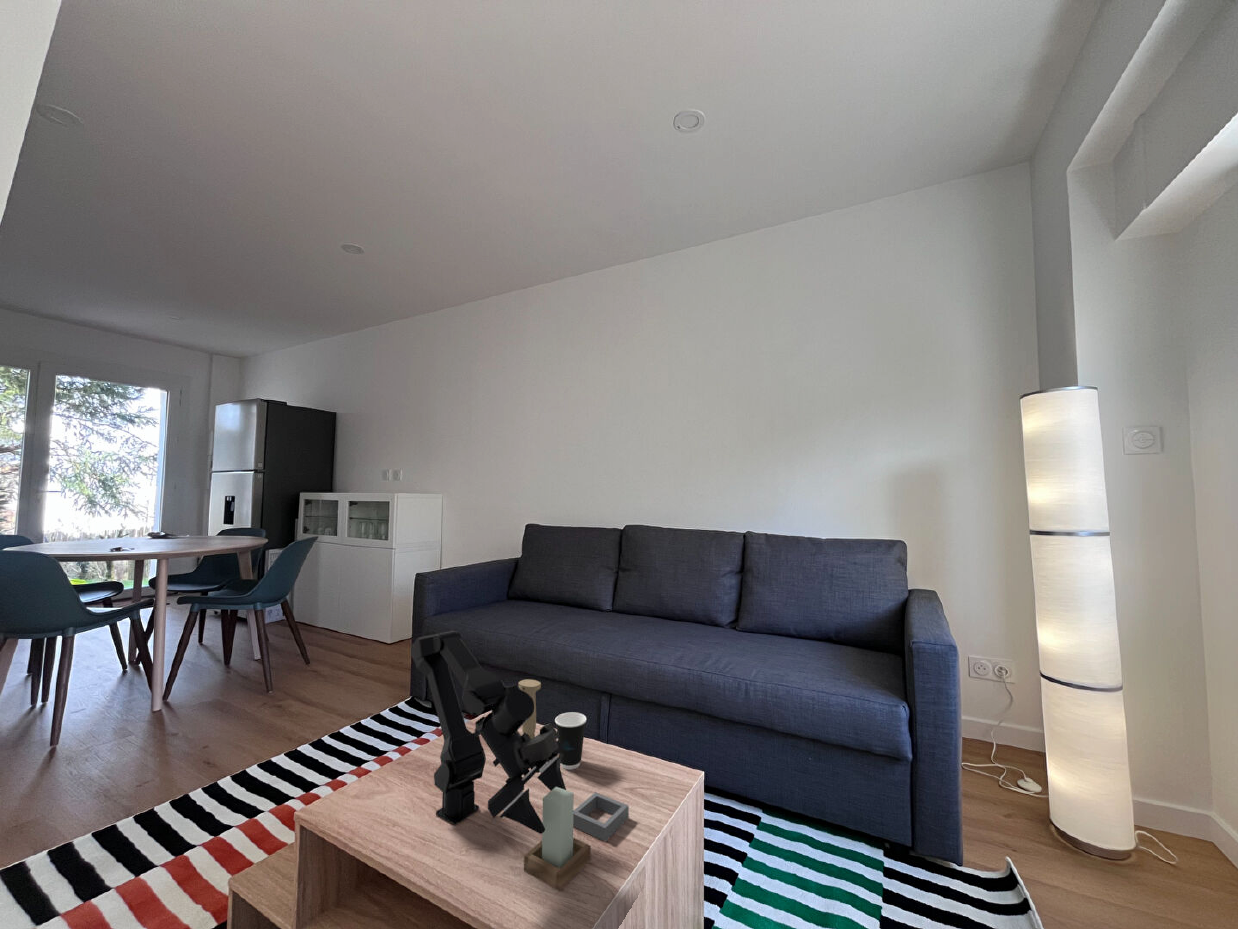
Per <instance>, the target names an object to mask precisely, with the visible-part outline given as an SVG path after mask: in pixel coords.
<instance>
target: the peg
mask: <svg viewBox="0 0 1238 929" xmlns="http://www.w3.org/2000/svg"><path fill="white" fill-rule="evenodd" d="M574 800H575V799H574V792H573V791H569V790H567V789H566V790H564V789H561V788H558V787H555V788H554V789H553V790H552V791H550V790H549V792H548V793H547V794H545V795H544V796H543V798H542V823H543V825H544V827H545V831H544V832H543V833H542V834H541V835H542V837H541V838H542V839H541V841H542V860H544V861H546V862H548V863H549V864H551V865H553V866H555V867H557V868H559V869H561V868H562V867H563V866H564V865H565V864H566V863H567V862H568V861H569V860H570V859H571V858H572V857H573V838H574V827H573V811H574V802H575V801H574Z"/></svg>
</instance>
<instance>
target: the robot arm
mask: <svg viewBox="0 0 1238 929" xmlns="http://www.w3.org/2000/svg"><path fill="white" fill-rule="evenodd" d="M410 646H411V647H410V657H411V658H412V659H413V662H414V664H415V667H416V669H417V670H418V671H419V672H420V673H422V674H423V675H424V676H425V677H426V678H427V680H428V685H429V688H430V692H431V696H432V700H433V704H434V707H435V711H436V714H437V718H438V719H437V720H438V721H439V727H440V730H441V734H442V736H443V745H442V748H441V753H440V758H439V759H440V765H439V767H438V768H437V769H436V771H435V772H434V773H433V781H434V786H435V787H436V788H437V789H438V790H440V791H441V792H442V801H441V803H442V804H441V806H442V807H441V808H439V809H438V810H436V811H435V815H436V816H438V817H439V818H441V819H443V820H445V821H446V822H448V823H450V824H452V825H453V826H455V825H458V824H459V823H461V822H462V821H464V820H465V819H467V818H468V817H470V816H471V815H473V814H474V813H476V812H477V811H479V810H480V806H479V804H476V803H475V802H476V801H475V798H476V797H475V796H476V792H475V782H474V781H475V780H479V779H481V778H482V777H483V774H484V773H483V772H484V769H485V764H486V760H487V758H486V753H485V749H484V748H483V745H482V743H481V738H480V736H481V737H482V739H483V740H484V742H485V744H486V745H487V747H488V748H489V750H491V753H493V755H494V757H495V759H494V760H493V761H492V764H493V765H494V767H495V768H496V767H498V765H500V767H502V769H503V771H504V773H505V774H506V775H507V777H508V778H507V779H506V780H505V784H504V785H503V786H502V787H500V789H499V790H497V792H495V794H493V796H492V797H491V798H489V799H488V801H487V809H488V812H489V813H490V815H491V816H492V818H493V819H495V818H496V817H497V816H499V818H500V819H503V818H506V819H509V820H511V821H514V822H516V823H519V824H520V825H522V826H525V827H527V828H529V829H530V830H532V831H534V832H536V833H537V834H539V835H542V833H543V832H544V831H545V827H544V825H543V820H542V819H541V818H540V817H539V815H538V812H537V811H536V810H535V808H534V806H533V805H532V803H531V800H530V788H527V789H526V790H525V785H526V783H528V782H529V781H530V779H532V777H534V776H535V775H536V774H537V773H538V774H539V773H540V774H539V775H538V776H537V779H538V781H539V782H541V783H542V784H543V785H544V786H545V787H546V788H547V789H548V790H549V792H550V791H552V790H553V789H554V788H555V787H558V788H561V789H564V790H567V788H566V785H565V781H564V778H563V774H562V770H561V758H562V757H563V754H561V755H560V756H559V753H560V752H561V751H562V750H563V749H564V748H563V747H562V745H561V744H560V742H559V741H558V736H559V734H558V732H557V729H555V727H554V726H553V725H552V724H551V723H546V724H544V725H543V726H542V727H540V729H539V734H537V735H536V736H535V737H533V738H530V737H529V735H528V734H526V733H524V734H523V733H522V734H521V733H520V732H519V730H520V729H521V728H522V725H523V724H524V723H525V722H526V721H527V720H528V719H529V718H530V717H531V715H532V714H533V712H534V702H533V699H532V697H530V696H529V695H528V694H527V693H526V692H524V691H522V690H521V689H519V686H518V685H517V684H513V685H510V686H507V685H506V684H505V683H504V682H503V681H502V680H501V679H500V677H498V676H497V674H495V672H493V671H489V670H487V669H484V668H483V667H482V666H481V665H480V664H479V661H477V659H476V658H475V656H473V654H472V653H471V651H470V650H469V649H468V647H467V646H466V645H465V643H464V642H463V640H462V638H461V634H460V632H459V631H456V630H450V631H446V632H441V633H436V634H430V635H425V636H420V637H417V638H416V639H415V640H414V642H413V643H412V644H411V645H410ZM450 670H451V671H452V673H453V674H454V676H455V678H456V680H458V682H459V683H460V685H461V687H462V696H461V700H462V701H463V704H464V707H465V709H466V710H467V711H468V714H470V715H471V716H474V717H475V716H480V715H483V714H486V713H488V712H490V713H488V714H487V715H486V716H482V717H481V718H479V719H477V720H476V721H475V722H474V724H475V728H474V732H471V731H470V730H469V729H468V728H467V725H466V722H465V717H464V715H463V713H462V712H463V711H462V709H461V704H460V702H459V698H458V695H457V691H456V688H455V685H454V681H453V678H452V675H451V671H450ZM524 790H525V791H524ZM501 812H502V813H501Z"/></svg>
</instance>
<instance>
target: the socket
mask: <svg viewBox="0 0 1238 929" xmlns="http://www.w3.org/2000/svg"><path fill="white" fill-rule="evenodd" d="M629 807H630V805H628V804H625V803H624V802H621V801H618V800H616V799H614V798H611V797H609V796H606V795H604V794H601V793H599V792H594V793H593V794H591V795H590V796H589V797H588V798H586V800H584V801H583V802H582V803H581V804H580V805H579V806H577V807H576V808H575V809H573V828H575V829H577V830H579V831H582V832H584V833H585V834H588V835H590V836H592V837H594V838H596V839H598V840H601V841H603V842H607V841H608V838H609V837H610V838H611V836H612V835H614V833H616V831H617V830H619V828H620V827H621V826H622V825H623V824H624V823H626V821H627V820H628V819H629V815H630V813H629V812H630V811H629V810H630V809H629ZM595 810H600V811H602V812H604V813H607V814H610V815H611V816H610V817H609V818H608V819H607V820H605V822H603V821H599V820H597V819H596V818H592V817H590V815H591V814H592V813H593V812H594V811H595ZM606 840H607V841H606Z"/></svg>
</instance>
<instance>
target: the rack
mask: <svg viewBox="0 0 1238 929" xmlns="http://www.w3.org/2000/svg"><path fill="white" fill-rule="evenodd" d="M591 847H592V846H591V845H590V844H588V843H586V842H584V841H581V840H579V839H577V838H576V837H573V857H572V858H571V859H570V860H569V861H568V862H567V863H566V864H565V865H564V866H563V867H562V868H561V869H559V868H557V867H555V866H553V865H551V864H549V863H548V862H546V861H544V860H542V840H540V841H539V842H538V843H536V844H535V845H534V847H532V848H531V849H530V850H529V851H528V852H526V853H525V854H524V855H523V871H524V872H526V873H528V874H530V875H531V876H533V877H535V878H537V879H538V880H539V881H542V882H544V883H546V884H548V885H549V886H551V887H553V888H554V889H556V890H558V891H560V892H562V890H563V889H564V888H565V887H566V886H567V885H568V884H570V882H571V881H572V880H573V879H574V878H575V877H576V876H577V875H578V873H580V872H581V871H582V870H583V868H585V866H586V865H587V864H588V863H590V862H591V860H592V859H591V857H592V856H591V853H592V852H591Z"/></svg>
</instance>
